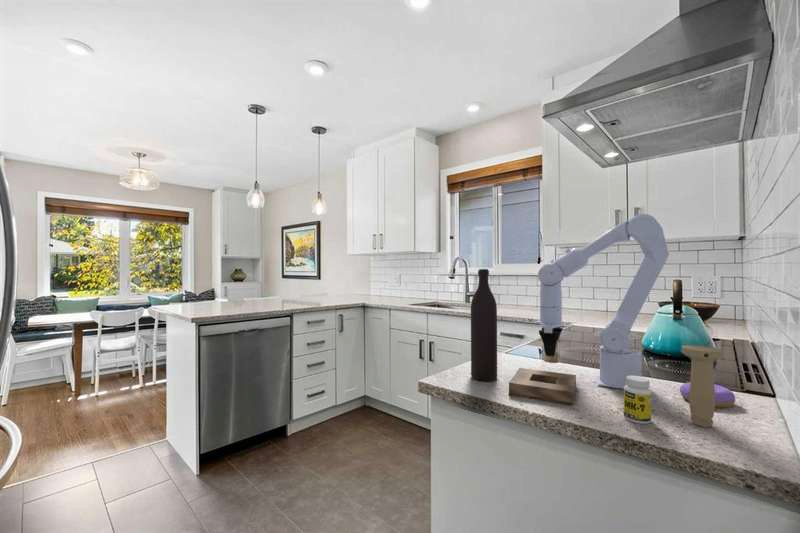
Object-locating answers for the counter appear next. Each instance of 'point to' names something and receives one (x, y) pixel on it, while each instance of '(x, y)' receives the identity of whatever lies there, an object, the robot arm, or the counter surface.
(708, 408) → the handle
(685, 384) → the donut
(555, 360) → the peg
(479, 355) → the wine bottle
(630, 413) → the supplement bottle
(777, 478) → the counter surface
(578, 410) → the counter surface
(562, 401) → the socket block
